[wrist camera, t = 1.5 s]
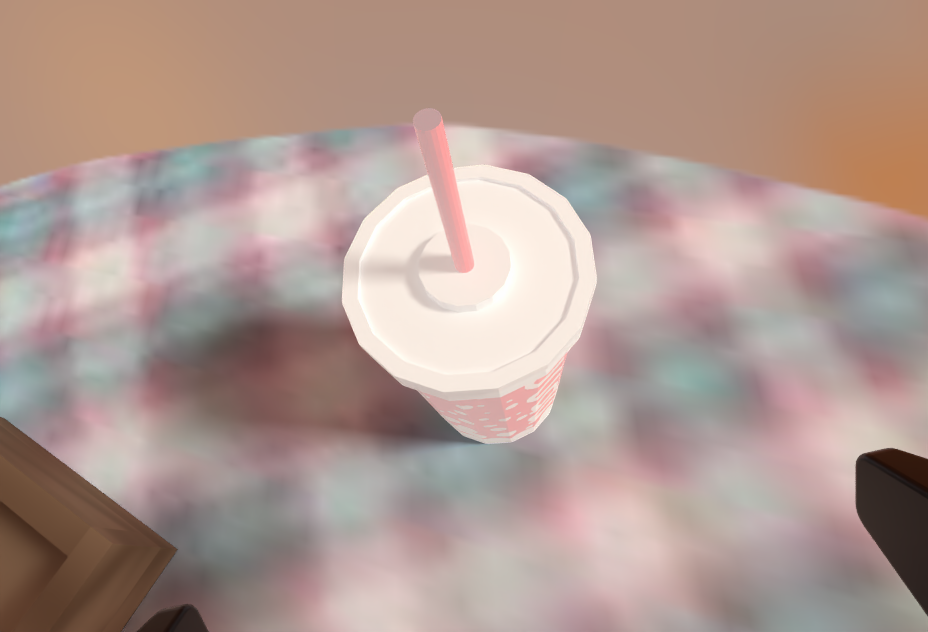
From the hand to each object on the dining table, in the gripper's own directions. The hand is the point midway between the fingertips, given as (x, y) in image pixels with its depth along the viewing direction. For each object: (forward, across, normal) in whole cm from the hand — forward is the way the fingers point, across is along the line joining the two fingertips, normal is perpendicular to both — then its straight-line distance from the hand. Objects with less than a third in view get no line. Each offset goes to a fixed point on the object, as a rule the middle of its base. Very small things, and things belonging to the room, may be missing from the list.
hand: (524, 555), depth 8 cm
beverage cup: (+14, 0, +4) cm, 15 cm away
